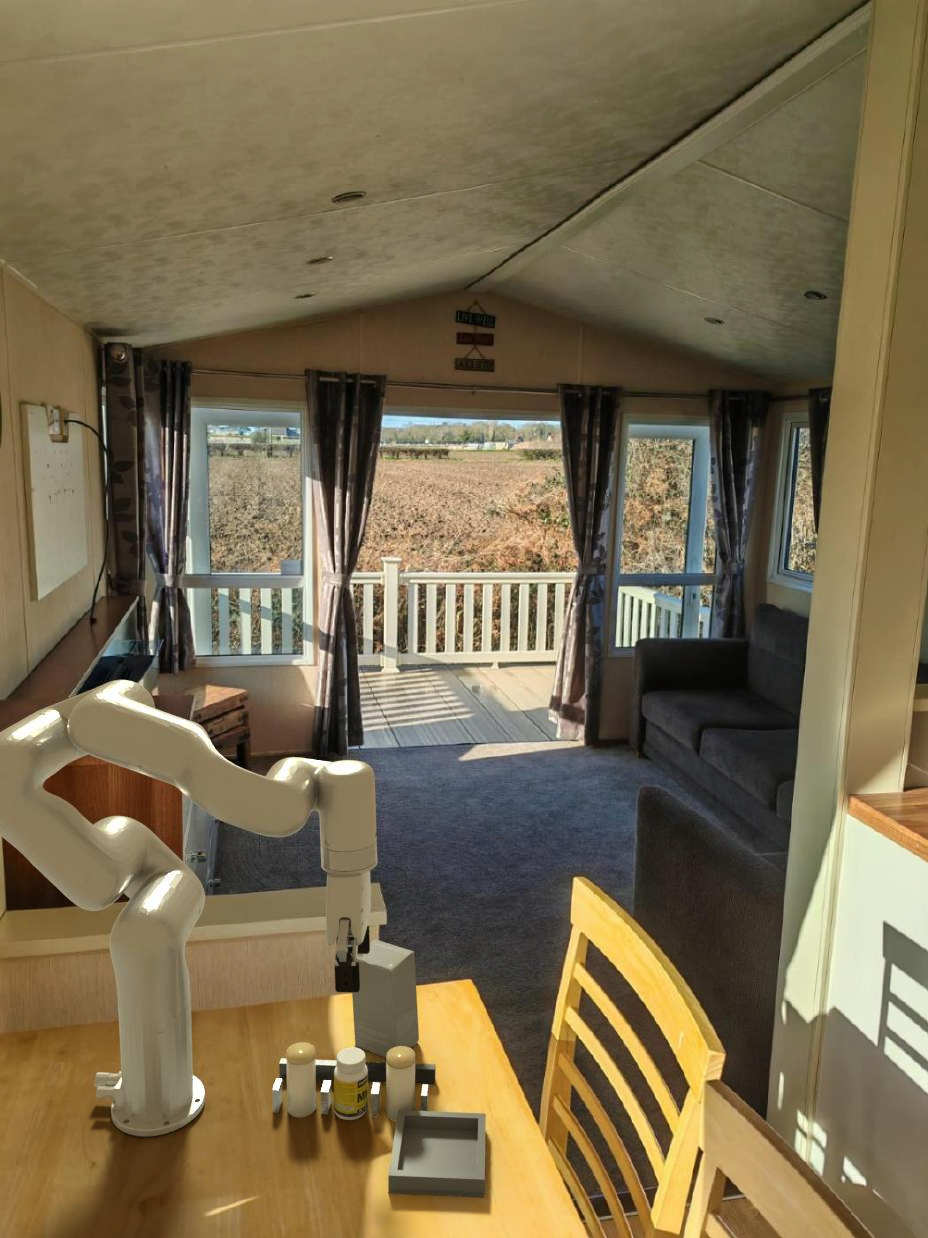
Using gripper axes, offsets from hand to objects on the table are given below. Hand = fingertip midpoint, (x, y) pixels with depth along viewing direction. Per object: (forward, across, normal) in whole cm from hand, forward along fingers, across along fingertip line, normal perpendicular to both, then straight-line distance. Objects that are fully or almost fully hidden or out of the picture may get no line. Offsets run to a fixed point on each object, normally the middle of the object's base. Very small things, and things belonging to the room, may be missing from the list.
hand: (353, 971), depth 129 cm
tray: (+22, +9, +12) cm, 26 cm away
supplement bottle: (+21, 0, -1) cm, 21 cm away
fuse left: (+21, 0, -8) cm, 23 cm away
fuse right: (+22, 0, +6) cm, 22 cm away
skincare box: (+22, -15, +2) cm, 26 cm away
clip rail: (+21, -3, -1) cm, 21 cm away
